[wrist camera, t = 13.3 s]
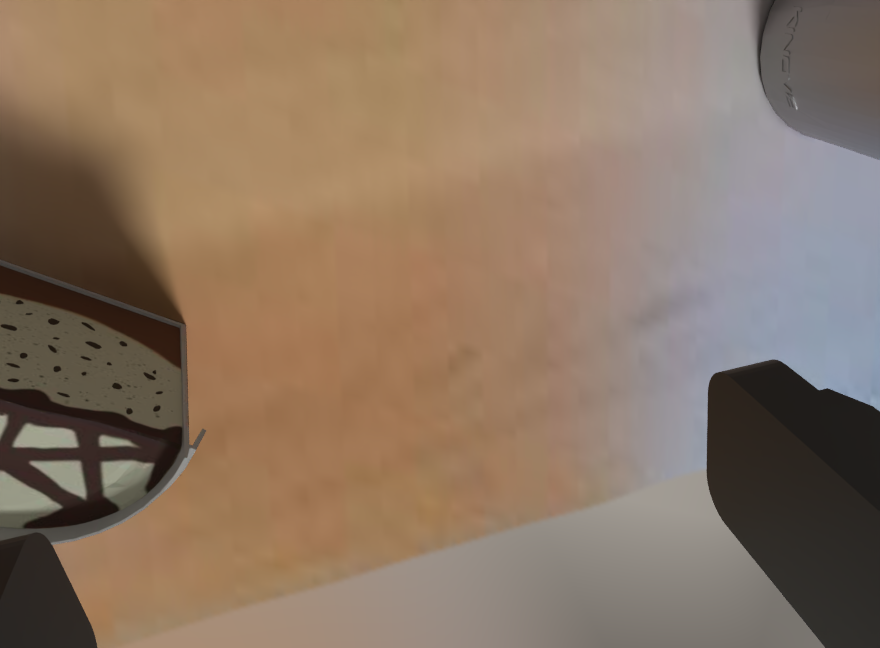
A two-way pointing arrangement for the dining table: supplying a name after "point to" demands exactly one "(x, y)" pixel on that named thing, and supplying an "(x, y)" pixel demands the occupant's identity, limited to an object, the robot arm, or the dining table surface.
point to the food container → (85, 408)
